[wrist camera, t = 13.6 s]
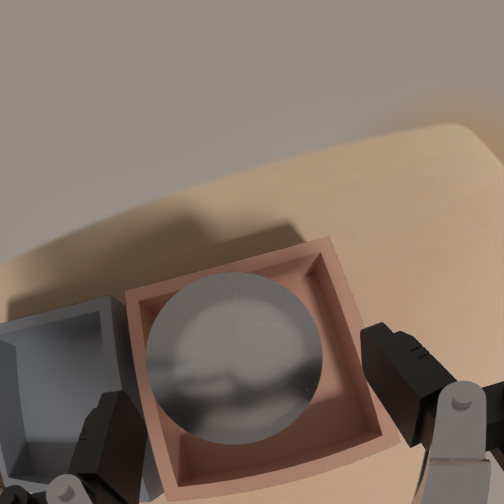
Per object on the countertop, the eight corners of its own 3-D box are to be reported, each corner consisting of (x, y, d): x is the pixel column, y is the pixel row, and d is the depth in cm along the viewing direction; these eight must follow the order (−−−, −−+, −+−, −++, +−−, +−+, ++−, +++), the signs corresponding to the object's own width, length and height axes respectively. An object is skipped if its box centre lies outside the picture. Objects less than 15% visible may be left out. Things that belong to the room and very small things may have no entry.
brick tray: (187, 484, 15) (167, 501, 12) (148, 309, 20) (124, 290, 17) (378, 435, 16) (400, 442, 12) (321, 263, 21) (328, 235, 18)
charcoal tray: (36, 481, 15) (4, 486, 11) (15, 339, 20) (-15, 327, 17) (172, 486, 15) (150, 501, 12) (135, 313, 20) (109, 294, 17)
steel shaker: (223, 428, 16) (165, 456, 7) (204, 348, 18) (135, 294, 9) (309, 407, 16) (344, 416, 7) (285, 327, 19) (292, 253, 10)
